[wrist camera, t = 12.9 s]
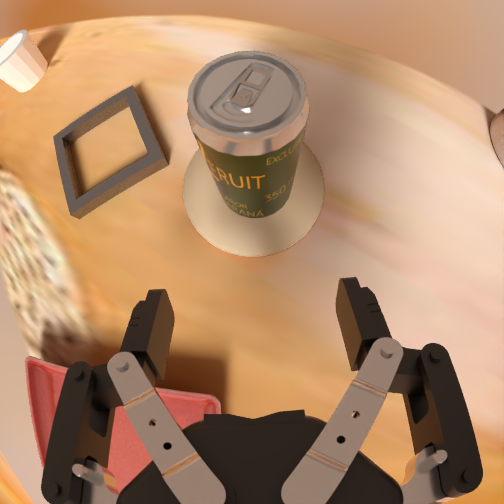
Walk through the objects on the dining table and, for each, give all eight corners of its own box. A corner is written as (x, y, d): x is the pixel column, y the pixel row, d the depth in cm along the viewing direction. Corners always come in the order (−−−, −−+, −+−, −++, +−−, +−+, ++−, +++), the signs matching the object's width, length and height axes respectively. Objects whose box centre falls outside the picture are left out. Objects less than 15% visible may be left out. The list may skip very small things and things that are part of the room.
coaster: (280, 109, 25) (280, 105, 24) (348, 216, 23) (350, 214, 23) (165, 164, 24) (163, 161, 24) (221, 282, 23) (220, 282, 22)
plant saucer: (67, 494, 21) (53, 507, 17) (43, 350, 23) (22, 354, 20) (225, 536, 20) (221, 556, 16) (227, 382, 22) (221, 395, 19)
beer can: (240, 145, 24) (221, 37, 12) (302, 172, 23) (329, 70, 11) (208, 203, 23) (157, 119, 11) (272, 233, 23) (279, 166, 11)
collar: (137, 93, 26) (132, 85, 24) (168, 165, 24) (163, 157, 23) (60, 142, 26) (53, 136, 24) (79, 219, 24) (70, 215, 23)
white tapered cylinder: (10, 103, 27) (-19, 79, 20) (20, 70, 28) (-4, 45, 21) (46, 82, 27) (18, 53, 20) (55, 50, 28) (32, 21, 21)
